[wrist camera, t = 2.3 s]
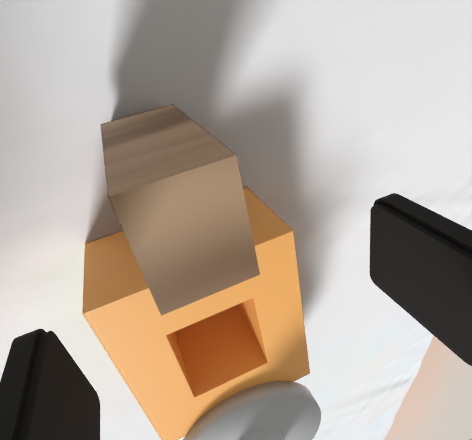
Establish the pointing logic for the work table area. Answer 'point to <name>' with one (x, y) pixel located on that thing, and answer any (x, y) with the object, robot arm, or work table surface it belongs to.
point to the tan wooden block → (178, 205)
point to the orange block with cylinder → (209, 342)
